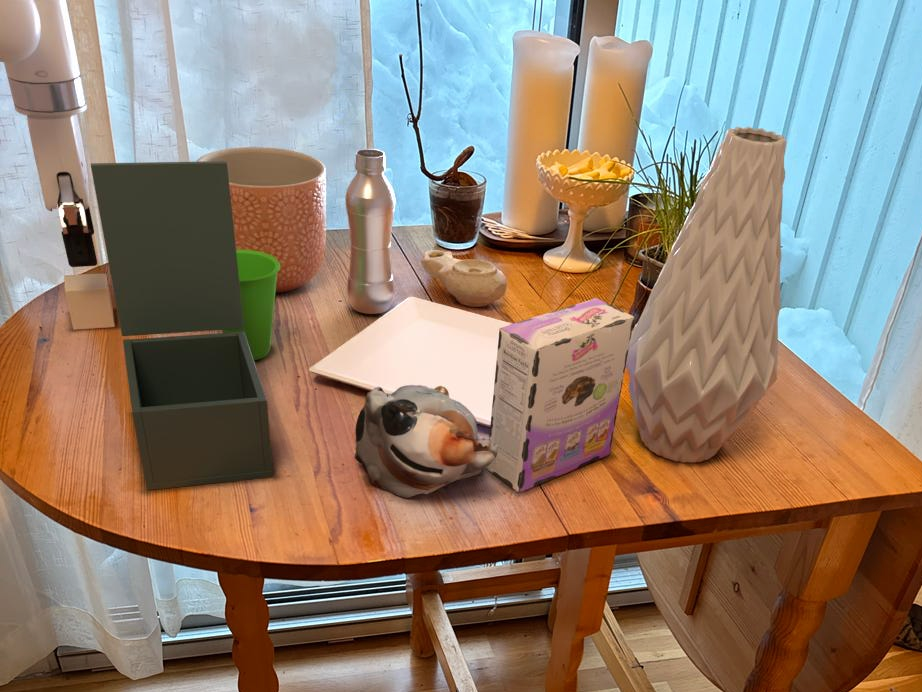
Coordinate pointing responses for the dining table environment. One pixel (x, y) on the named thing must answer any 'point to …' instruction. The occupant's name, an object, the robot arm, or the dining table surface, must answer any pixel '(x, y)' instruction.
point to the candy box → (557, 391)
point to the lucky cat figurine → (418, 440)
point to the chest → (198, 410)
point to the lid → (170, 245)
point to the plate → (423, 354)
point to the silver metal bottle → (370, 234)
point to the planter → (278, 208)
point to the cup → (257, 299)
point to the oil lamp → (466, 278)
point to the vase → (714, 307)
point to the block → (89, 301)
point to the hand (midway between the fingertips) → (82, 249)
